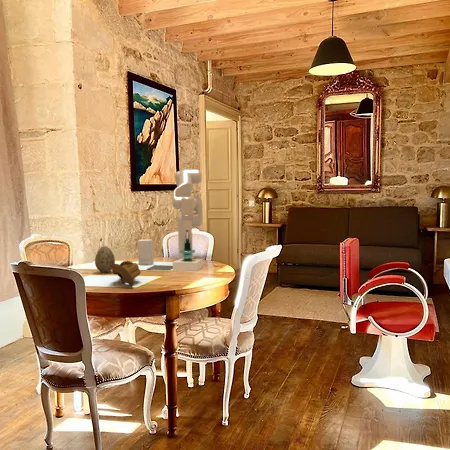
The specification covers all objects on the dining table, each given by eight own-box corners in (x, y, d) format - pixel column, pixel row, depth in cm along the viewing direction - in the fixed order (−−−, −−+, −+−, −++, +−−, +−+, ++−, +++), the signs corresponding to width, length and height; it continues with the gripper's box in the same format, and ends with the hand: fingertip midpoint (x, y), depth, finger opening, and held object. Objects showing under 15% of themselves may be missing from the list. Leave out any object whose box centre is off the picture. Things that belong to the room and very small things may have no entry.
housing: (179, 266, 262) (179, 258, 261) (202, 267, 259) (202, 259, 259) (173, 270, 248) (172, 262, 248) (196, 271, 245) (196, 262, 245)
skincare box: (153, 263, 275) (153, 239, 274) (151, 265, 268) (150, 240, 267) (141, 263, 276) (140, 239, 274) (137, 265, 269) (137, 240, 268)
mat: (154, 266, 265) (154, 265, 264) (176, 266, 262) (176, 265, 262) (146, 270, 251) (146, 269, 251) (169, 270, 248) (169, 269, 248)
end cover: (182, 258, 259) (182, 239, 258) (196, 259, 257) (196, 239, 256) (178, 261, 250) (177, 241, 249) (193, 261, 248) (193, 241, 247)
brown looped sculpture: (93, 271, 205) (115, 257, 225) (103, 296, 206) (124, 280, 227) (125, 261, 199) (145, 247, 220) (135, 286, 201) (154, 271, 221)
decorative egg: (104, 270, 250) (104, 244, 249) (119, 271, 245) (118, 245, 244) (91, 273, 240) (90, 246, 239) (105, 275, 235) (105, 247, 234)
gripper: (181, 217, 260) (181, 247, 261) (180, 219, 243) (180, 251, 244) (193, 217, 260) (193, 247, 262) (193, 219, 243) (194, 251, 245)
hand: (187, 248), depth 253 cm, fingers closed on end cover, 4 cm apart
